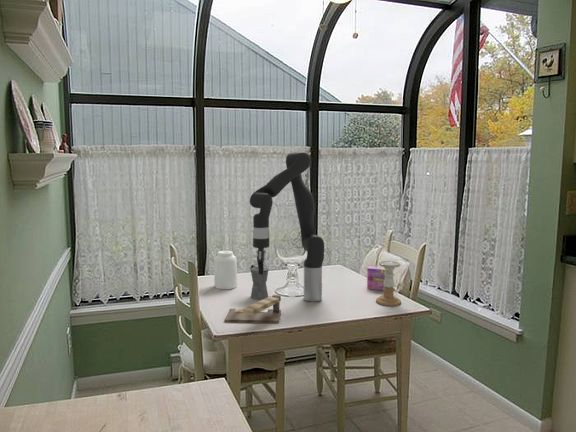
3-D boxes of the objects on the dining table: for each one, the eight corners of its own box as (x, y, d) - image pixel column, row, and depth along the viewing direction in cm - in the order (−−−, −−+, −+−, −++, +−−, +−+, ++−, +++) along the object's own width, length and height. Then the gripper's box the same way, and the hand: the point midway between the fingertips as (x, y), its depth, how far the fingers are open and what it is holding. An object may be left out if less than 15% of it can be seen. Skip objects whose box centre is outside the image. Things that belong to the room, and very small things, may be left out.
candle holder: (382, 307, 236) (384, 266, 233) (371, 299, 248) (372, 261, 245) (405, 305, 239) (407, 265, 237) (393, 298, 251) (395, 259, 248)
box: (366, 288, 268) (367, 267, 266) (369, 286, 273) (369, 265, 271) (385, 290, 264) (386, 269, 262) (387, 288, 269) (388, 267, 268)
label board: (280, 312, 228) (280, 299, 227) (279, 323, 213) (279, 309, 212) (230, 311, 229) (229, 298, 228) (224, 322, 214) (224, 308, 213)
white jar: (237, 283, 276) (237, 249, 274) (236, 289, 264) (235, 253, 261) (215, 283, 276) (215, 249, 273) (213, 290, 263) (212, 253, 261)
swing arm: (274, 298, 227) (274, 294, 227) (283, 300, 224) (283, 296, 224) (242, 313, 206) (242, 308, 206) (252, 315, 204) (252, 310, 203)
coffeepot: (274, 298, 248) (274, 264, 246) (258, 301, 243) (257, 266, 241) (258, 291, 261) (258, 258, 259) (243, 294, 256) (243, 260, 254)
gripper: (268, 239, 214) (268, 277, 216) (270, 234, 227) (270, 270, 229) (251, 239, 214) (251, 277, 216) (254, 234, 227) (254, 270, 229)
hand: (261, 273), depth 223 cm, fingers closed
